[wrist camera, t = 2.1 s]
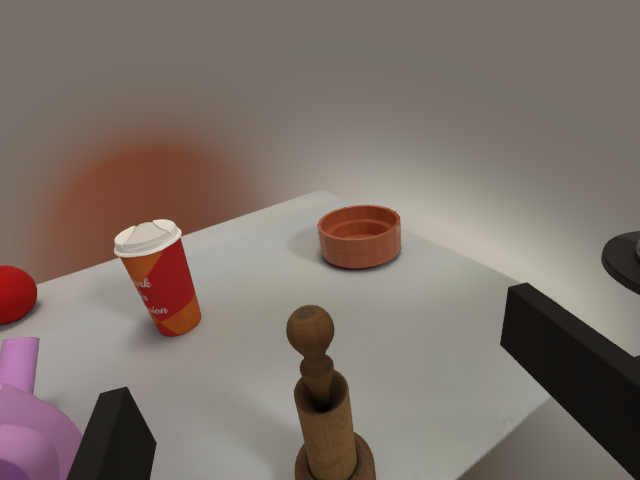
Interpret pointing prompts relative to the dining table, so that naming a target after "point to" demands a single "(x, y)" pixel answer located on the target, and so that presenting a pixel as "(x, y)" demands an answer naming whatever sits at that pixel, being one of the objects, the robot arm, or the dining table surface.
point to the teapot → (31, 420)
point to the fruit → (15, 293)
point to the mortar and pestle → (324, 406)
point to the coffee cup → (160, 274)
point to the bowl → (360, 236)
